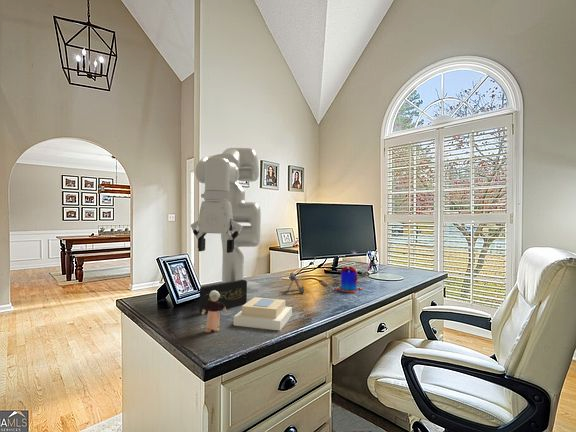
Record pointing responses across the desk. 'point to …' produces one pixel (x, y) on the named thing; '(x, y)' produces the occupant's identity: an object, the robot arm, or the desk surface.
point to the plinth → (262, 320)
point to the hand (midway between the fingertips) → (215, 251)
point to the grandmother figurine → (213, 311)
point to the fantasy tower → (348, 280)
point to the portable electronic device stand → (292, 277)
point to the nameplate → (225, 294)
